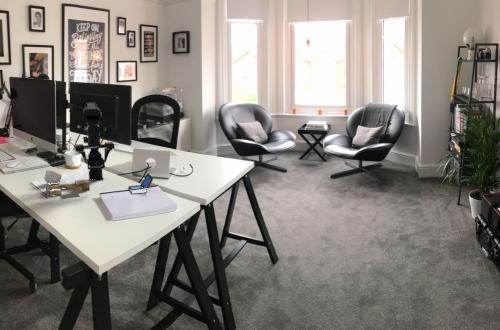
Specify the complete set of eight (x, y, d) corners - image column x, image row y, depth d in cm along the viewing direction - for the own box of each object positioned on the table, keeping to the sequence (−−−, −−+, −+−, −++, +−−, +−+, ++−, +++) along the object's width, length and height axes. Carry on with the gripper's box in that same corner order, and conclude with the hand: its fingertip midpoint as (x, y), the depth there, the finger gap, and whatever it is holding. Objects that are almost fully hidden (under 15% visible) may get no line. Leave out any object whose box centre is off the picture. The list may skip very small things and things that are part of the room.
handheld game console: (128, 188, 225) (127, 174, 223) (148, 186, 229) (148, 172, 227) (132, 195, 214) (131, 180, 212) (153, 192, 218) (153, 178, 216)
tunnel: (78, 187, 225) (78, 181, 224) (82, 192, 216) (81, 186, 215) (46, 191, 218) (45, 185, 217) (47, 196, 208) (47, 190, 208)
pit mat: (77, 193, 215) (77, 192, 215) (79, 196, 210) (79, 195, 210) (60, 195, 211) (60, 194, 211) (61, 198, 206) (61, 198, 206)
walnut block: (87, 187, 225) (86, 179, 224) (89, 190, 220) (89, 182, 219) (75, 189, 222) (74, 180, 221) (77, 192, 217) (76, 183, 216)
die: (61, 182, 236) (49, 168, 234) (68, 177, 231) (55, 163, 229) (50, 190, 230) (37, 177, 228) (56, 185, 225) (43, 171, 223)
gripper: (109, 129, 229) (111, 158, 233) (72, 132, 221) (74, 161, 224) (113, 132, 220) (115, 162, 223) (74, 135, 211) (77, 166, 215)
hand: (95, 163), depth 222 cm, fingers open, 9 cm apart
